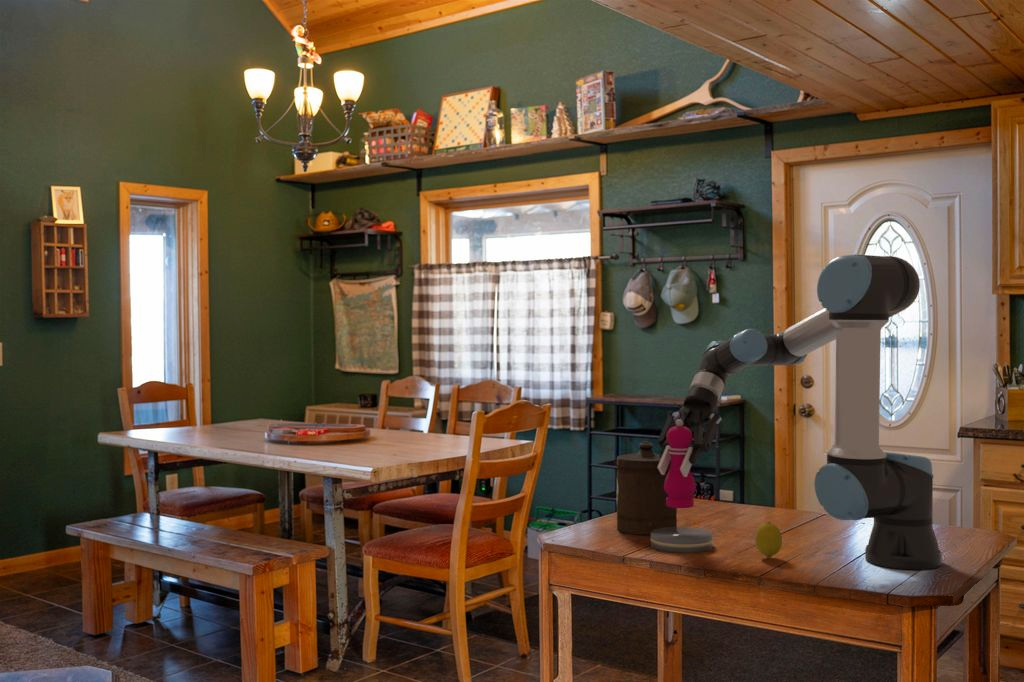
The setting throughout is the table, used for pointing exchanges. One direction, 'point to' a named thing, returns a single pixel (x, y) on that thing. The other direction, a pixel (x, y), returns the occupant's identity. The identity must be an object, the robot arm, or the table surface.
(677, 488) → the pepper mill
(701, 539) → the grey flat disc
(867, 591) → the table surface
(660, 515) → the wooden container
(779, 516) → the table surface
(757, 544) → the lemon
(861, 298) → the robot arm
